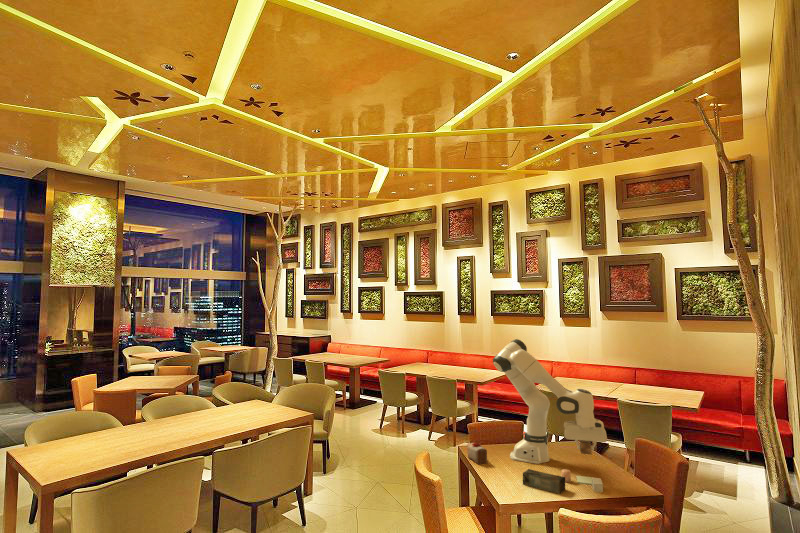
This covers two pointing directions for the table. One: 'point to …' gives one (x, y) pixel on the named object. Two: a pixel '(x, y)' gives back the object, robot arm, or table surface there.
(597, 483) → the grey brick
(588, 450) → the walnut cube
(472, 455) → the grey canister red cap
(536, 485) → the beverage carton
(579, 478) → the green tile
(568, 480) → the brown egg
